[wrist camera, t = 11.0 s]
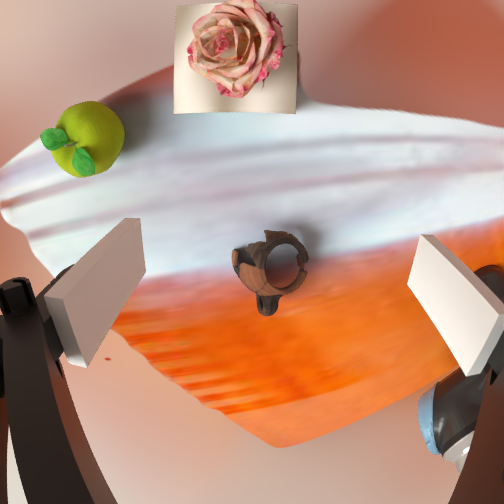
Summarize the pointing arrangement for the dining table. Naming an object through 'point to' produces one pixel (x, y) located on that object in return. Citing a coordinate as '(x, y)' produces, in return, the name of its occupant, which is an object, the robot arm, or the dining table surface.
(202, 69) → the flower
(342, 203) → the dining table surface
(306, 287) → the dining table surface
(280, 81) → the pedestal
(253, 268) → the pottery mug
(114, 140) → the fruit
